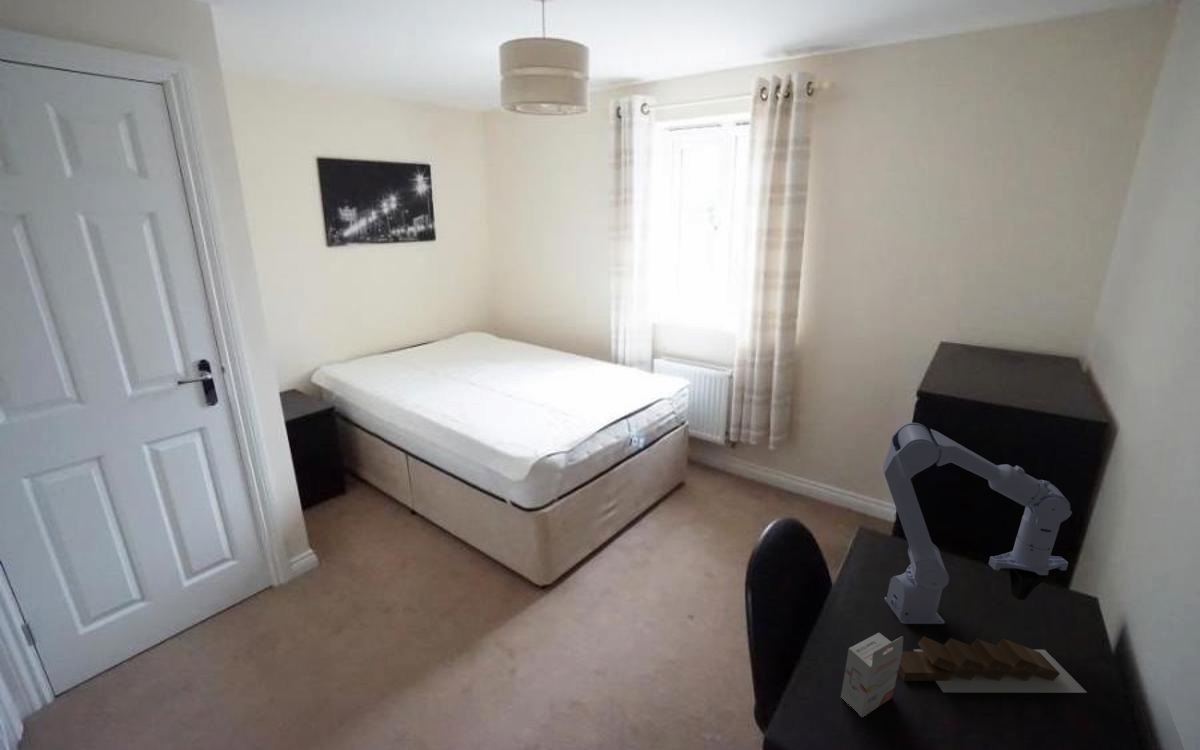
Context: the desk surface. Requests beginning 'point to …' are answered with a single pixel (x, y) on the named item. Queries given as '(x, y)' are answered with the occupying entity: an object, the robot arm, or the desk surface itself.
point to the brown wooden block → (1027, 659)
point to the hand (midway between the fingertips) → (1017, 596)
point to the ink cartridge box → (871, 673)
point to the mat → (1013, 682)
